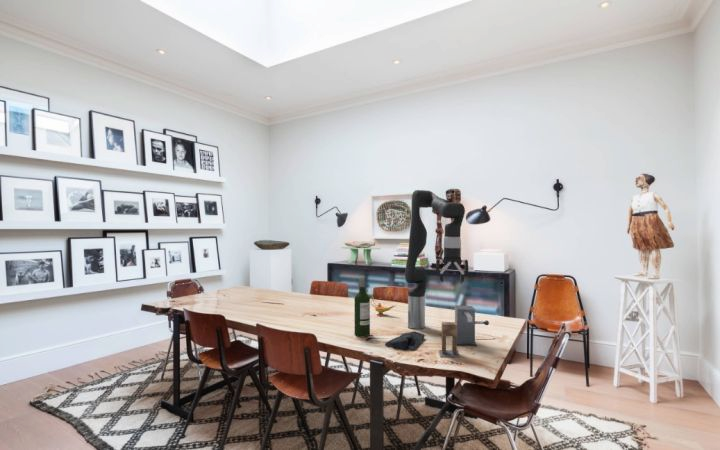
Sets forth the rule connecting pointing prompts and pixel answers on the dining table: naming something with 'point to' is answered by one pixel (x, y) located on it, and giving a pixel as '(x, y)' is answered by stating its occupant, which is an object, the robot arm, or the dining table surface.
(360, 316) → the wine bottle
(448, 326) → the slotted wooden collar
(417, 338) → the dark slate chunk
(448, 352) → the felt pad
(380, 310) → the magic lamp
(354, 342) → the dining table surface
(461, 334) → the vise stand
